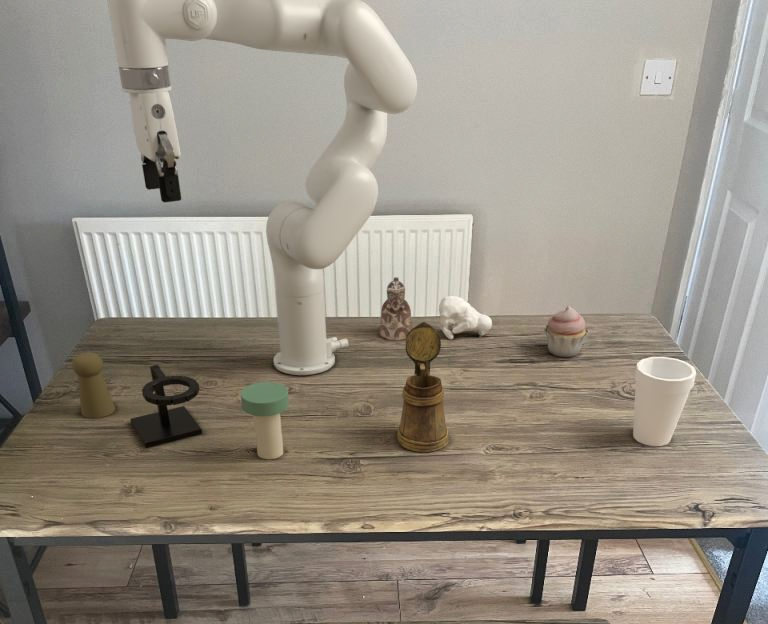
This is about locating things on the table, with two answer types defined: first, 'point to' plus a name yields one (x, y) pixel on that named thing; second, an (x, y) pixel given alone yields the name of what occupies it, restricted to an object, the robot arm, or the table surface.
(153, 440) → the holder
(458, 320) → the white animal statue
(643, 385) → the foam cup
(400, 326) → the figurine
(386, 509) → the table surface
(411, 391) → the wooden mug
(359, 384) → the table surface
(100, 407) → the tan pawn
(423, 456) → the table surface
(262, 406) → the canister
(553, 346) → the cupcake
